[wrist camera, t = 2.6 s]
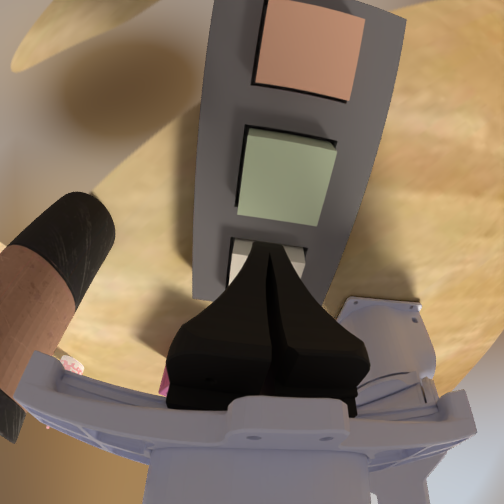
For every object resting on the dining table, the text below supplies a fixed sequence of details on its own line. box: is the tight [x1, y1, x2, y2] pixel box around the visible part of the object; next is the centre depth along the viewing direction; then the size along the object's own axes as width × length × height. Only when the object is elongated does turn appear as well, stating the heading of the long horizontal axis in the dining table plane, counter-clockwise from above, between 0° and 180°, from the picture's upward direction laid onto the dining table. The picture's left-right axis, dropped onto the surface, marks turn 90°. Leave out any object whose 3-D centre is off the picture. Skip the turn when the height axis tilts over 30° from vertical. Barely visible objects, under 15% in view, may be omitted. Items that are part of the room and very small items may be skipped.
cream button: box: [229, 238, 305, 285], centre depth 22 cm, size 5×5×2 cm
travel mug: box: [0, 192, 115, 444], centre depth 16 cm, size 8×8×20 cm
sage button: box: [237, 128, 337, 226], centre depth 17 cm, size 5×5×2 cm
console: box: [192, 0, 406, 306], centre depth 19 cm, size 11×24×3 cm, turn 172°
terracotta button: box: [256, 0, 365, 101], centre depth 12 cm, size 5×5×2 cm
